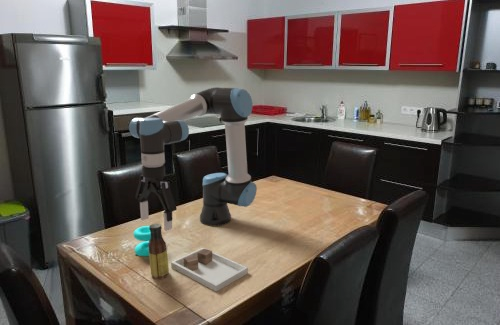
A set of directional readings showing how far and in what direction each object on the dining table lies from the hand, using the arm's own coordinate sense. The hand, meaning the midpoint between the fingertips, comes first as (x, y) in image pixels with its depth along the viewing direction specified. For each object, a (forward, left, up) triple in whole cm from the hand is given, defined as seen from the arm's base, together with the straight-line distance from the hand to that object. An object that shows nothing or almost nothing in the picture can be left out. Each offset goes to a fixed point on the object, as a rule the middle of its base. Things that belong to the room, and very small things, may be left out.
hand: (156, 224), depth 135 cm
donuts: (-19, +8, -21) cm, 29 cm away
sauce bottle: (0, 0, -21) cm, 21 cm away
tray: (+11, +14, -20) cm, 27 cm away
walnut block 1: (+5, +11, -20) cm, 23 cm away
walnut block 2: (+5, +18, -20) cm, 27 cm away
